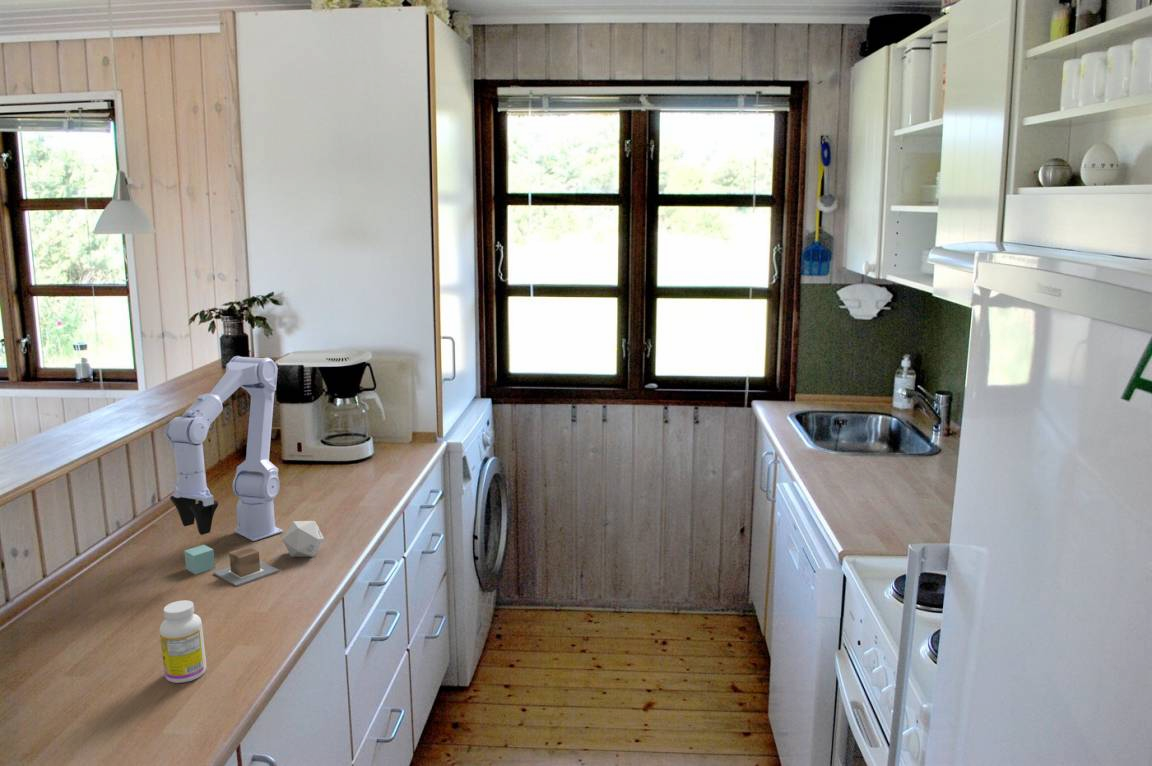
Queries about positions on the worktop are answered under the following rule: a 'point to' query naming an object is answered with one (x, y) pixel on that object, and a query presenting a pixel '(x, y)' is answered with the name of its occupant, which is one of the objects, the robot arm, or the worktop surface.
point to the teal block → (199, 559)
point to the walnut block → (244, 561)
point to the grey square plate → (238, 580)
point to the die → (303, 539)
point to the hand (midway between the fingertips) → (196, 529)
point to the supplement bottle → (182, 643)
